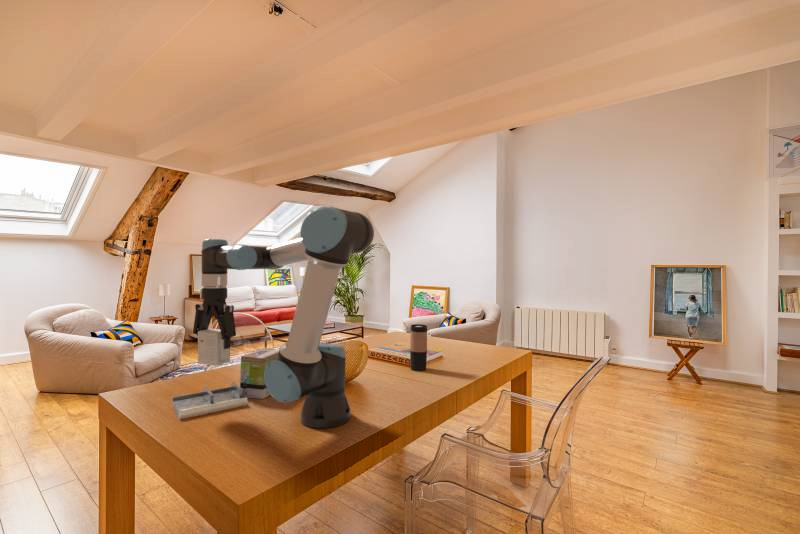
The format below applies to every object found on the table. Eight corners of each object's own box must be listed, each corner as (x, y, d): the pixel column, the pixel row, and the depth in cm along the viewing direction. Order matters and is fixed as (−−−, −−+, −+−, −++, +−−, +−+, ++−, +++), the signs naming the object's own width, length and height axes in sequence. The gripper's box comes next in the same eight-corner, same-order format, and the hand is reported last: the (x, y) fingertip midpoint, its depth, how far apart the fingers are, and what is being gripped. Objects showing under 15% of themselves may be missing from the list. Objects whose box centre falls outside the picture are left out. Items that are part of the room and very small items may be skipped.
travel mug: (407, 367, 179) (408, 324, 179) (423, 366, 181) (423, 324, 181) (413, 372, 172) (413, 327, 171) (429, 370, 174) (429, 326, 174)
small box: (230, 361, 126) (230, 329, 126) (217, 366, 121) (217, 332, 121) (210, 359, 128) (211, 328, 128) (197, 363, 123) (197, 331, 123)
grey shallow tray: (247, 405, 130) (247, 390, 130) (179, 419, 117) (179, 403, 117) (235, 393, 141) (235, 380, 141) (172, 405, 128) (172, 390, 128)
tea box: (264, 399, 135) (265, 357, 135) (239, 397, 137) (239, 356, 137) (285, 386, 150) (286, 348, 150) (262, 384, 152) (262, 347, 152)
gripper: (249, 287, 124) (248, 357, 125) (199, 285, 131) (198, 351, 132) (231, 288, 117) (231, 363, 118) (180, 286, 124) (179, 356, 125)
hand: (214, 357), depth 125 cm, fingers closed on small box, 8 cm apart
